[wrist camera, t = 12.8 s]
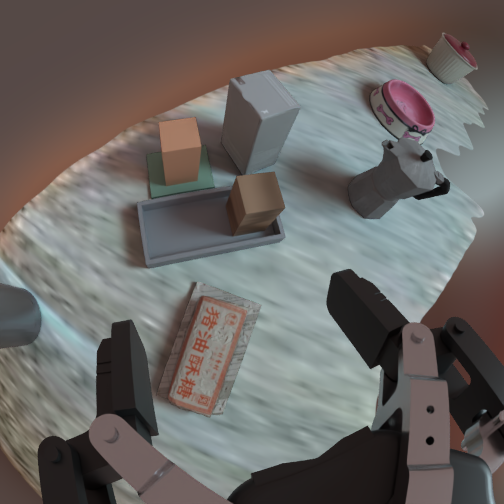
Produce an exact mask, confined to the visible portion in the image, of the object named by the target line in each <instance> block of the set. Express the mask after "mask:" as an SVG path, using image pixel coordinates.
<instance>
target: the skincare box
mask: <svg viewBox="0 0 504 504" xmlns="http://www.w3.org/2000/svg"><path fill="white" fill-rule="evenodd" d="M300 108H301V106H300V105H299V104H298V102H297V101H296V100H295V99H294V98H293V96H292V95H291V94H290V93H289V92H288V90H287V89H286V88H285V87H284V86H283V85H282V83H281V82H280V81H279V80H278V79H277V78H276V77H275V76H274V74H273V73H272V72H271V71H270V70H267V71H262V72H258V73H254V74H250V75H245V76H241V77H237V78H233V79H230V83H229V89H228V96H227V103H226V110H225V117H224V124H223V132H222V139H221V143H222V144H223V146H224V147H225V149H226V150H227V152H228V153H229V155H230V157H231V158H232V160H233V161H234V163H235V164H236V166H237V167H238V169H239V170H240V172H241V174H242V175H249V174H252V173H254V172H256V171H258V170H261V169H263V168H266V167H268V166H270V165H273V164H275V162H276V160H277V158H278V155H279V153H280V151H281V149H282V147H283V145H284V142H285V140H286V138H287V136H288V134H289V132H290V129H291V127H292V125H293V123H294V121H295V119H296V117H297V115H298V112H299V110H300Z"/></svg>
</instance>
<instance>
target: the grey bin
mask: <svg viewBox="0 0 504 504" xmlns="http://www.w3.org/2000/svg"><path fill="white" fill-rule="evenodd" d="M232 187H233V186H227V187H221V188H214V189H208V190H202V191H196V192H190V193H184V194H178V195H173V196H167V197H162V198H157V199H152V200H146V201H142V202H137V207H138V215H139V223H140V230H141V237H142V243H143V249H144V255H145V261H146V265H147V267H148V268H154V267H159V266H164V265H169V264H174V263H179V262H184V261H189V260H193V259H198V258H203V257H208V256H213V255H218V254H223V253H228V252H233V251H238V250H243V249H248V248H253V247H258V246H263V245H268V244H273V243H278V242H280V241H282V240H283V239H284V238H285V233H284V229H283V226H282V222H281V219H280V215H278V216H277V217H276V219H275V220H274V221H273V222H272V223H271V224H270V225H269V226H268V227H267V228H266V230H265V231H261V232H256V233H250V234H245V235H240V236H234V237H233V235H232V231H231V227H230V223H229V218H228V214H227V210H226V203H227V201H228V198H229V195H230V192H231V190H232Z"/></svg>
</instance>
